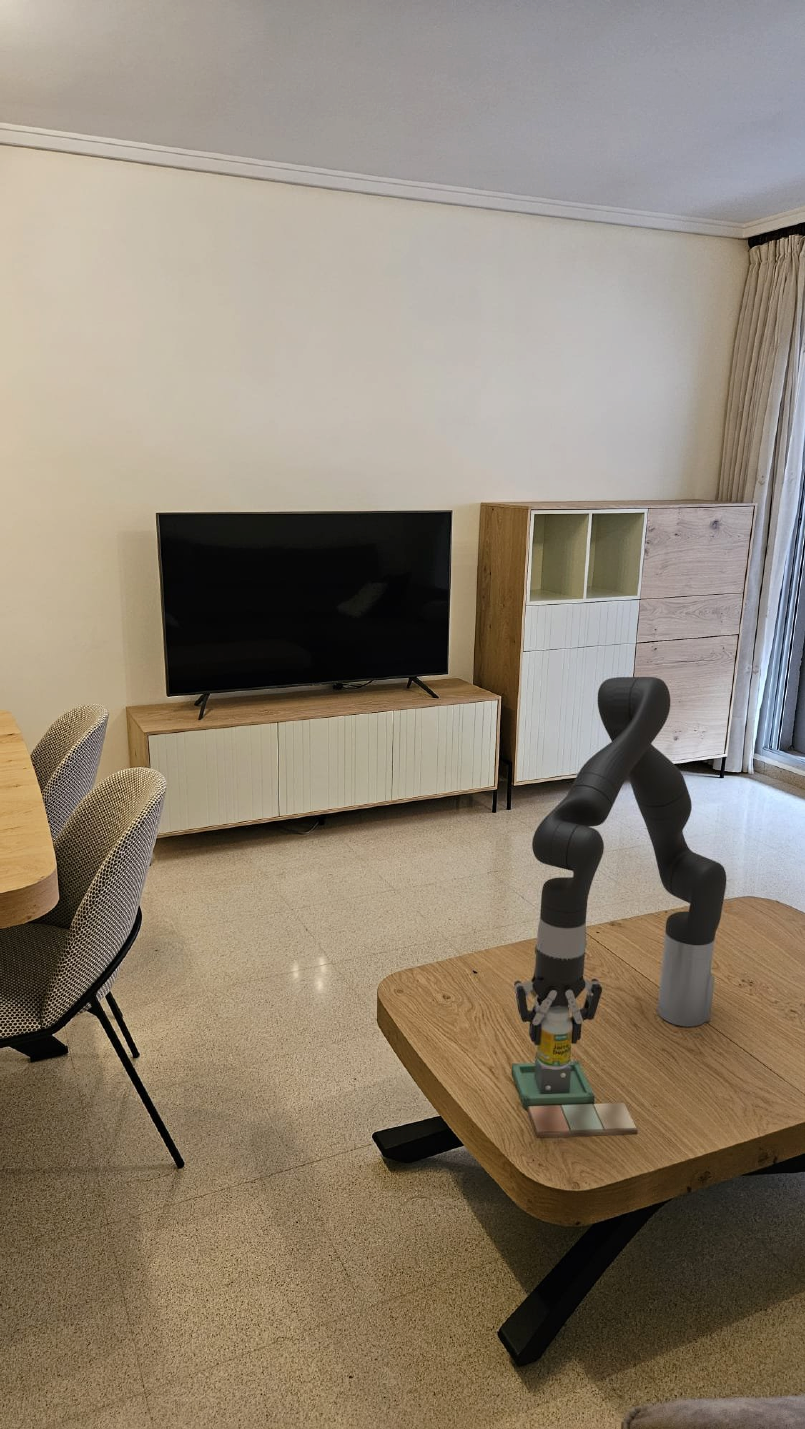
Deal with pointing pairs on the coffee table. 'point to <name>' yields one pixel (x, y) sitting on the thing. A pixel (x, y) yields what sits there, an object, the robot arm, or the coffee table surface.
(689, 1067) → the coffee table surface
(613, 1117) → the track
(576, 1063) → the tray
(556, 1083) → the die
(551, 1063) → the supplement bottle
